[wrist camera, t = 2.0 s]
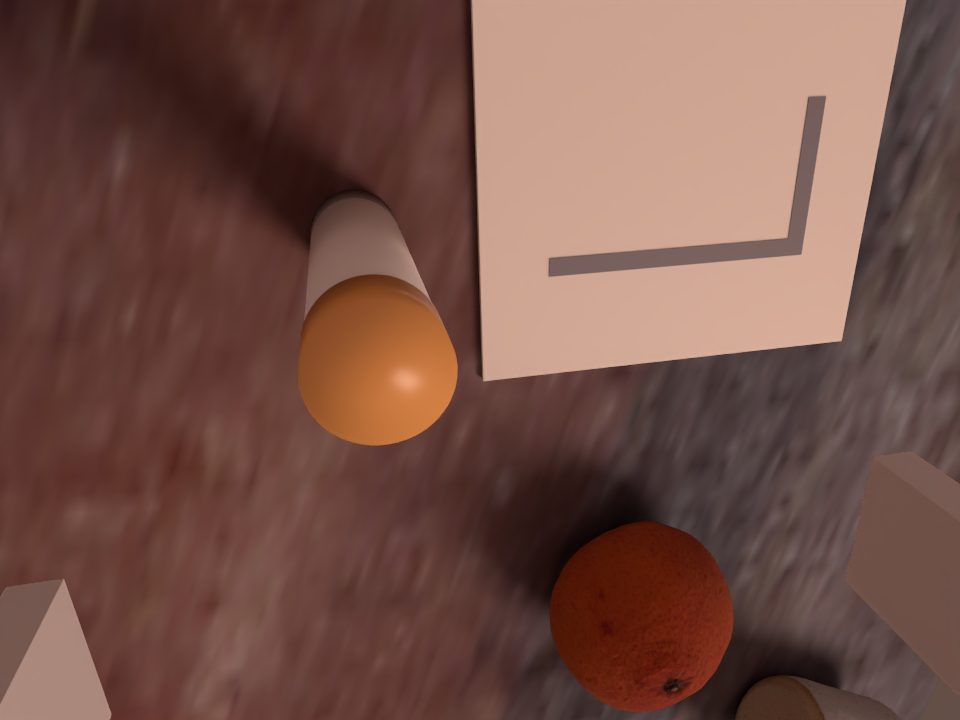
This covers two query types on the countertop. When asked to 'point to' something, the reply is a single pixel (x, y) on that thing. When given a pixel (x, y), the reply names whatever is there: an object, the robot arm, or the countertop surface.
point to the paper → (671, 174)
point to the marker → (370, 328)
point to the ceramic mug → (807, 702)
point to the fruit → (641, 616)
